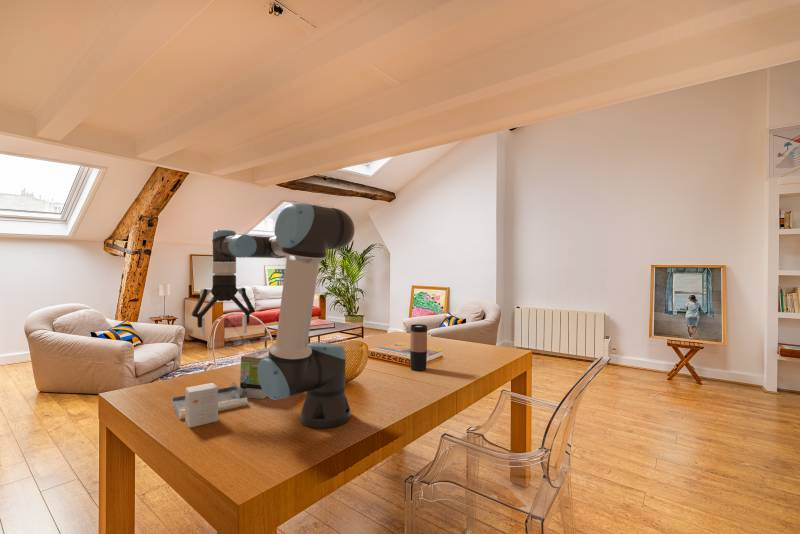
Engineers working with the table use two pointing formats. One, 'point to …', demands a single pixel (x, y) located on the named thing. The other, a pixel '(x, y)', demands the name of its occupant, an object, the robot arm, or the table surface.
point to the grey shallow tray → (226, 400)
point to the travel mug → (418, 347)
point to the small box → (201, 404)
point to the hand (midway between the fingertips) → (224, 334)
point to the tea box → (252, 374)
